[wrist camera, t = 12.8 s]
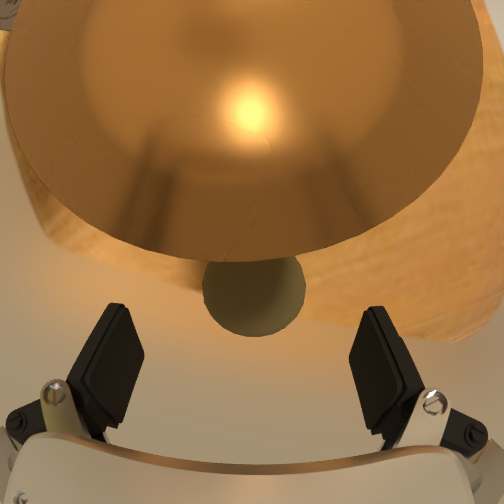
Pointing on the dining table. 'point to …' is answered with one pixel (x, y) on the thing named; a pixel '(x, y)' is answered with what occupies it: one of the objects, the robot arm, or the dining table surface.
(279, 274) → the cork
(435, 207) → the dining table surface
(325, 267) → the dining table surface
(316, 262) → the dining table surface
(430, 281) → the dining table surface
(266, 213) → the handle
